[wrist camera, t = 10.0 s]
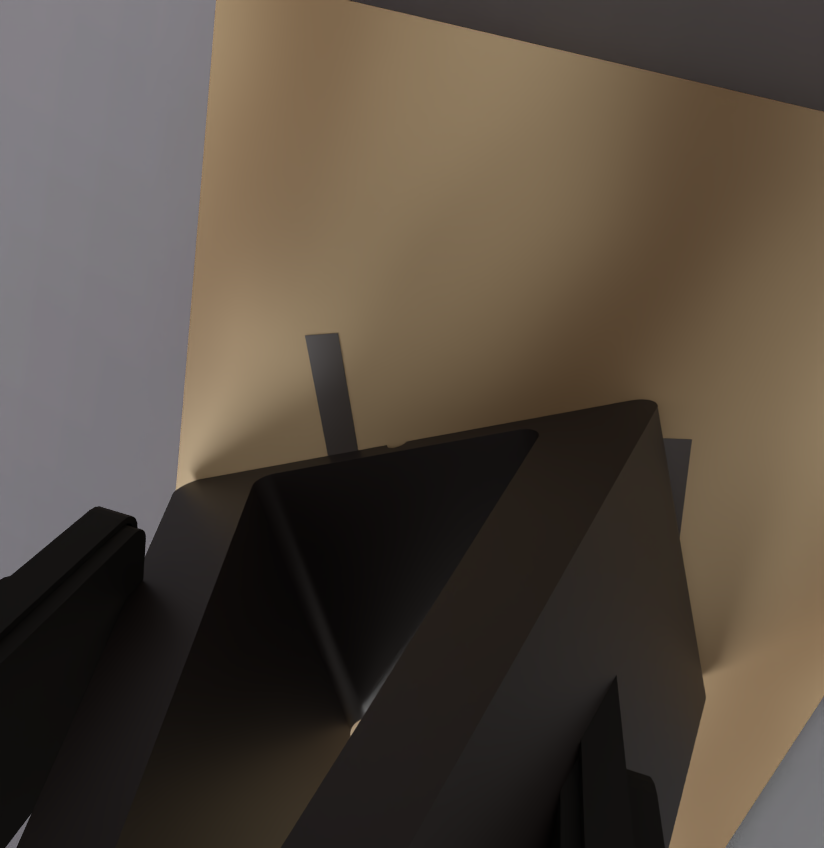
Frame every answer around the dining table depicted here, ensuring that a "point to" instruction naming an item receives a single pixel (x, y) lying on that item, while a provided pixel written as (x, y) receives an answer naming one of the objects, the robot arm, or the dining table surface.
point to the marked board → (530, 303)
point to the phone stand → (391, 647)
